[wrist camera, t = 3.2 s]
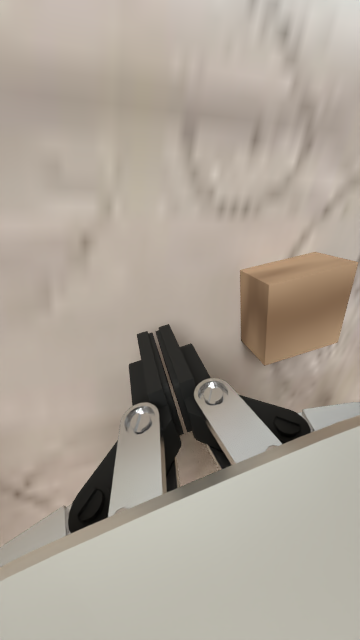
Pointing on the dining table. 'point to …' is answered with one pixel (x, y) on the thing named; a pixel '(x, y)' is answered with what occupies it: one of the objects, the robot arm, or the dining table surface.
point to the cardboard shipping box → (294, 304)
